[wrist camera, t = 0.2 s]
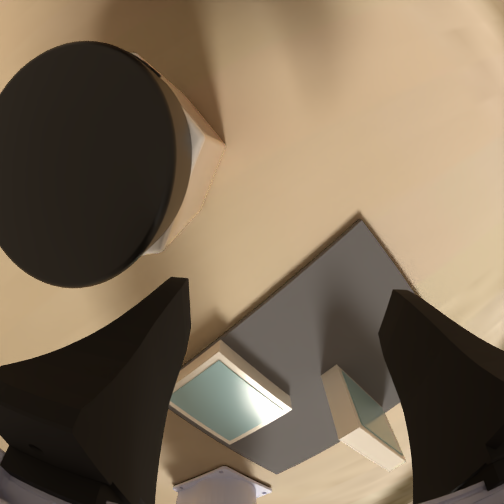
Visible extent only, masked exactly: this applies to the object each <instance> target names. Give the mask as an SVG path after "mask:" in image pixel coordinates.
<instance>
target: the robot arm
mask: <svg viewBox="0 0 504 504" xmlns="http://www.w3.org/2000/svg"><path fill="white" fill-rule="evenodd" d="M190 329H191V317H190V300H189V279H188V278H178V277H170V278H169V279H168V280H167V281H165V282H164V283H163V284H162V285H160V286H159V287H158V288H157V289H156V290H154V291H153V292H152V293H151V294H150V295H148V296H147V297H146V298H145V299H143V300H142V301H141V302H140V303H138V304H137V305H136V306H134V307H133V308H132V309H130V310H129V311H127V312H126V313H125V314H123V315H122V316H120V317H119V318H118V319H116V320H115V321H113V322H112V323H110V324H108V325H107V326H105V327H103V328H102V329H100V330H98V331H96V332H95V333H93V334H91V335H89V336H87V337H85V338H83V339H81V340H79V341H77V342H74V343H72V344H70V345H68V346H66V347H63V348H61V349H58V350H56V351H53V352H51V353H48V354H45V355H42V356H39V357H35V358H32V359H28V360H24V361H20V362H16V363H12V364H8V365H3V366H1V367H0V435H1V436H2V437H3V439H4V440H5V441H6V442H7V443H8V444H9V447H8V449H7V451H6V453H5V452H4V451H3V450H1V449H0V504H155V494H156V482H157V474H158V466H159V458H160V451H161V444H162V438H163V432H164V427H165V421H166V416H167V411H168V407H169V403H170V399H171V396H172V393H173V390H174V387H175V384H176V381H177V378H178V375H179V372H180V369H181V366H182V363H183V359H184V356H185V353H186V350H187V345H188V340H189V334H190ZM378 336H379V340H380V345H381V349H382V353H383V357H384V360H385V362H386V365H387V368H388V370H389V373H390V375H391V378H392V381H393V383H394V386H395V389H396V391H397V394H398V397H399V399H400V402H401V405H402V408H403V412H404V416H405V421H406V425H407V430H408V436H409V442H410V449H411V457H412V469H413V504H504V351H503V350H501V349H499V348H497V347H495V346H493V345H491V344H489V343H487V342H485V341H484V340H482V339H480V338H478V337H477V336H475V335H473V334H472V333H470V332H469V331H467V330H466V329H464V328H463V327H461V326H460V325H458V324H457V323H455V322H454V321H452V320H451V319H450V318H448V317H447V316H445V315H444V314H443V313H441V312H440V311H439V310H437V309H436V308H434V307H433V306H432V305H430V304H429V303H427V302H426V301H425V300H423V299H422V298H420V297H419V296H417V295H415V294H414V293H412V292H410V291H408V290H399V289H393V290H392V294H391V297H390V300H389V303H388V306H387V309H386V312H385V315H384V318H383V321H382V324H381V326H380V329H379V332H378ZM173 490H174V491H176V492H178V496H177V501H176V504H256V498H258V497H261V496H263V495H266V494H269V493H271V492H272V489H271V488H269V487H267V486H265V485H263V484H261V483H258V482H256V481H254V480H252V479H250V478H248V477H246V476H244V475H242V474H240V473H238V472H236V471H234V470H233V469H231V468H229V467H227V466H222V467H220V468H217V469H215V470H213V471H210V472H208V473H206V474H203V475H201V476H198V477H196V478H193V479H191V480H188V481H186V482H183V483H181V484H178V485H175V486H173Z"/></svg>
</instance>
